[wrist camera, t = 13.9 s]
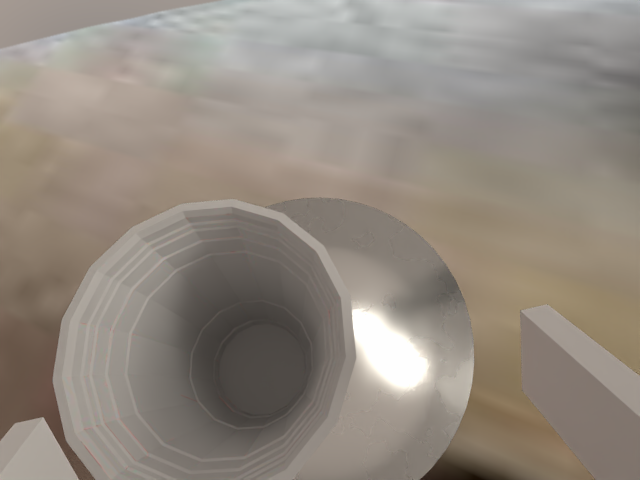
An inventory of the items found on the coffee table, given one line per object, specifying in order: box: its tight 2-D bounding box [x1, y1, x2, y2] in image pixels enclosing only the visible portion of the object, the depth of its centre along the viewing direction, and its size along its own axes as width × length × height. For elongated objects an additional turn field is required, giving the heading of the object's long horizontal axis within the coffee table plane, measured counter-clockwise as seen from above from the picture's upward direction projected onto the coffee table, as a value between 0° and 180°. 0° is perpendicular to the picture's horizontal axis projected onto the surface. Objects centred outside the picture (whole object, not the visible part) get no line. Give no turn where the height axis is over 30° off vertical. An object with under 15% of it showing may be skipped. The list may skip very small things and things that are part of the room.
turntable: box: [265, 198, 474, 480], centre depth 26 cm, size 20×20×2 cm
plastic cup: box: [52, 199, 356, 480], centre depth 19 cm, size 11×11×12 cm
